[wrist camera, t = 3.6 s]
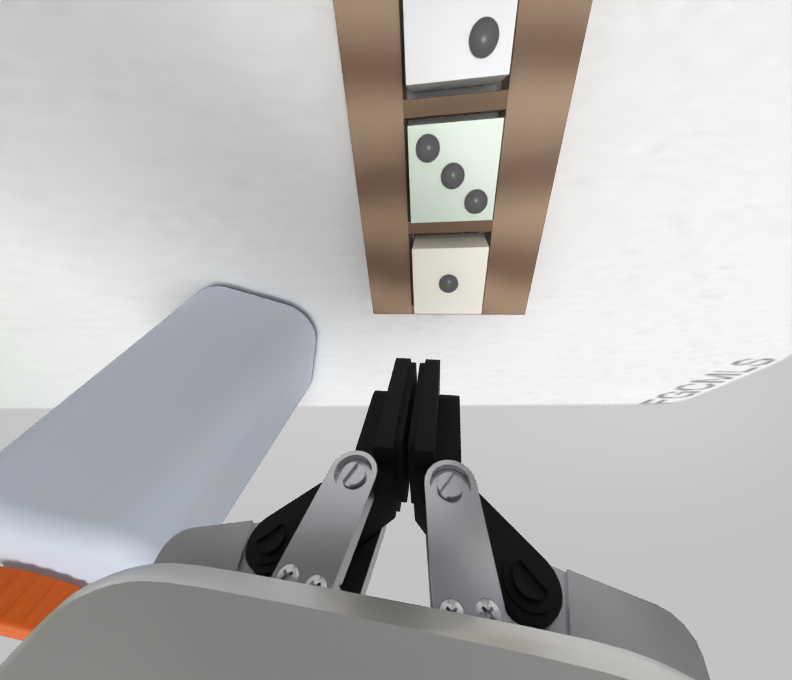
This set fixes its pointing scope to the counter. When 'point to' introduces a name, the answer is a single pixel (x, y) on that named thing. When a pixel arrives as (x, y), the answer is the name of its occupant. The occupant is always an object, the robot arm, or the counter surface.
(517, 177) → the wooden tile tray
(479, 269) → the one dot tile
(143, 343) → the plastic bottle
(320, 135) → the counter surface
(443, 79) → the two dot tile
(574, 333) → the counter surface
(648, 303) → the counter surface
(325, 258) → the counter surface
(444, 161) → the three dot tile
